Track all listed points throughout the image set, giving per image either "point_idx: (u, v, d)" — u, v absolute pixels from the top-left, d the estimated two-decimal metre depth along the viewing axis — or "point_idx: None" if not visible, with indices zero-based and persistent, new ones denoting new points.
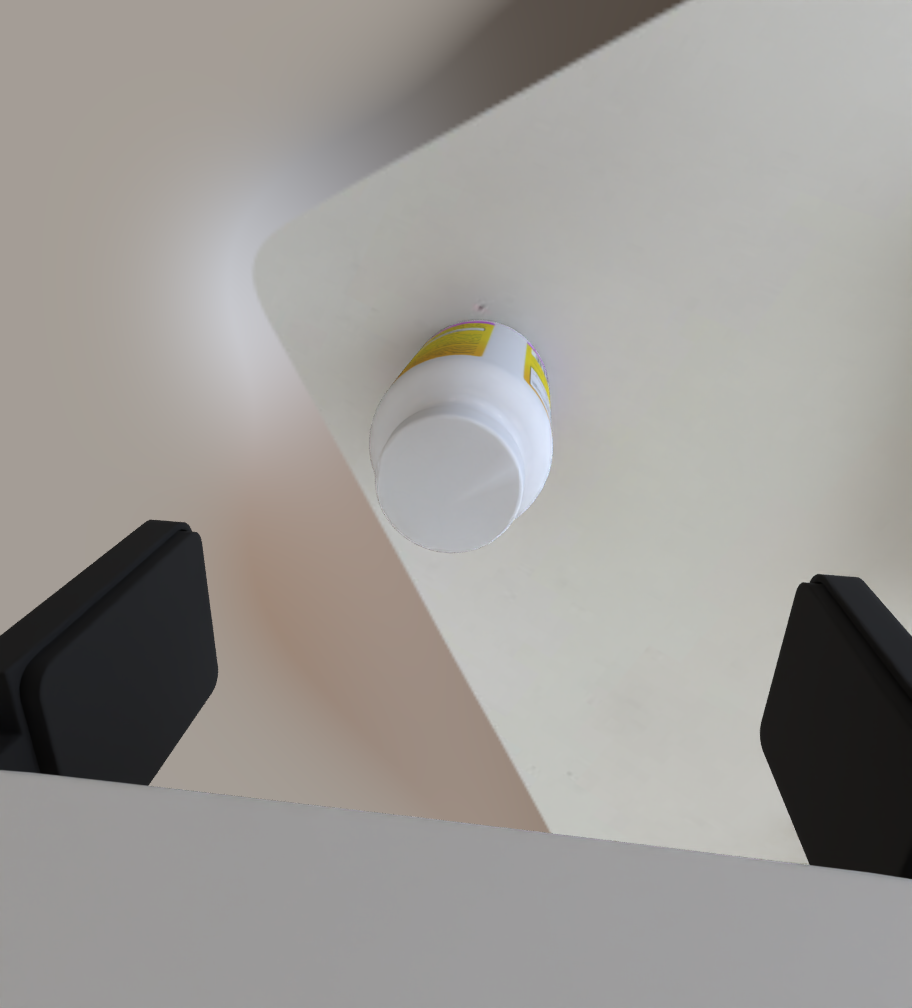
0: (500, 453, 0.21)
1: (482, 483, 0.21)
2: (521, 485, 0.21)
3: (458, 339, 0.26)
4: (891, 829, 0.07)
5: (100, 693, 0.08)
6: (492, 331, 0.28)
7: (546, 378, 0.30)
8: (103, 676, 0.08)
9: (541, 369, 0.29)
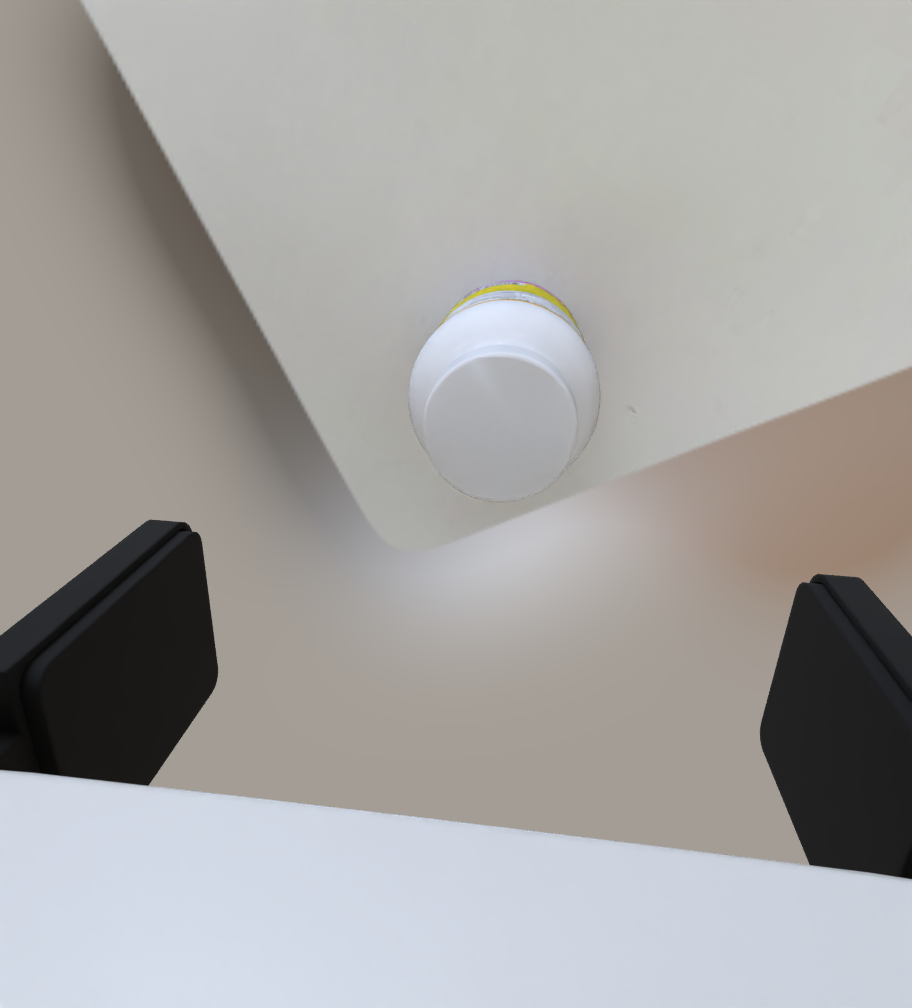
0: (459, 376, 0.20)
1: (494, 395, 0.20)
2: (496, 353, 0.19)
3: None
4: (892, 829, 0.07)
5: (100, 693, 0.08)
6: None
7: (484, 287, 0.29)
8: (103, 676, 0.08)
9: (469, 295, 0.28)
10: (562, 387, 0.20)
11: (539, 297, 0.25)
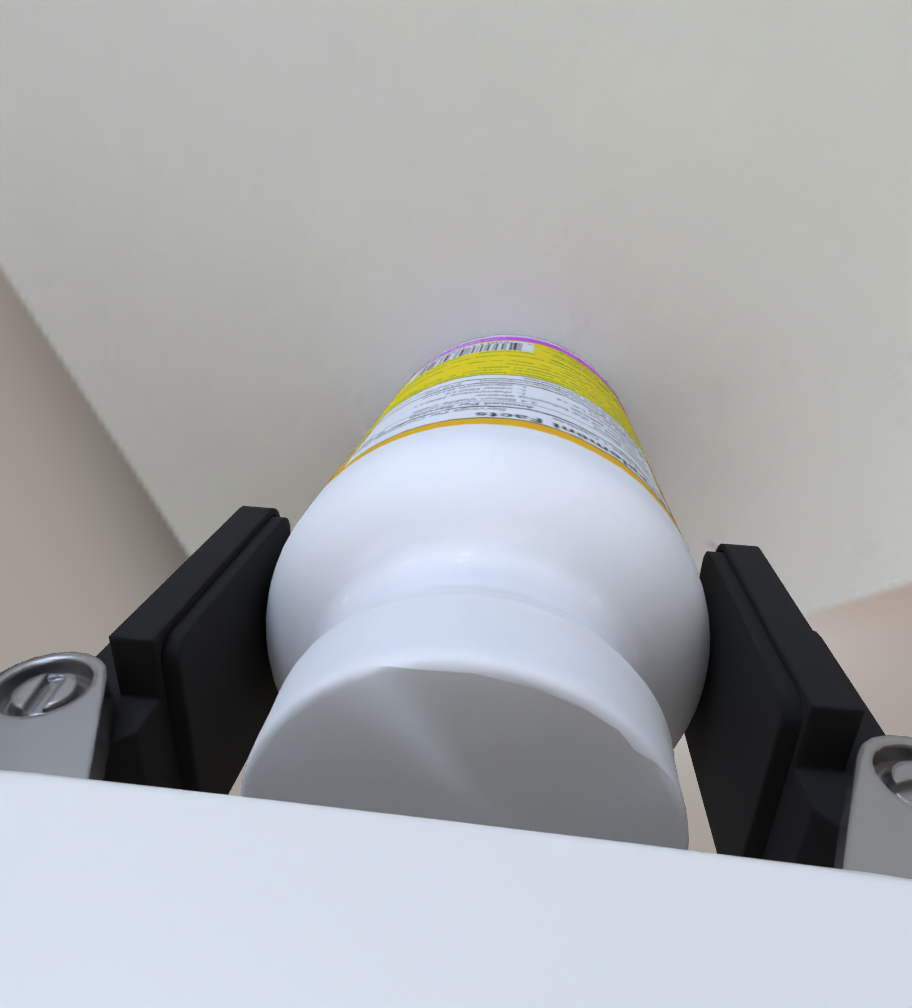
0: (331, 714, 0.06)
1: (438, 765, 0.07)
2: (439, 660, 0.06)
3: None
4: (754, 762, 0.08)
5: (219, 665, 0.09)
6: None
7: (458, 353, 0.15)
8: (221, 649, 0.09)
9: (429, 371, 0.15)
10: (647, 757, 0.06)
11: (563, 391, 0.12)
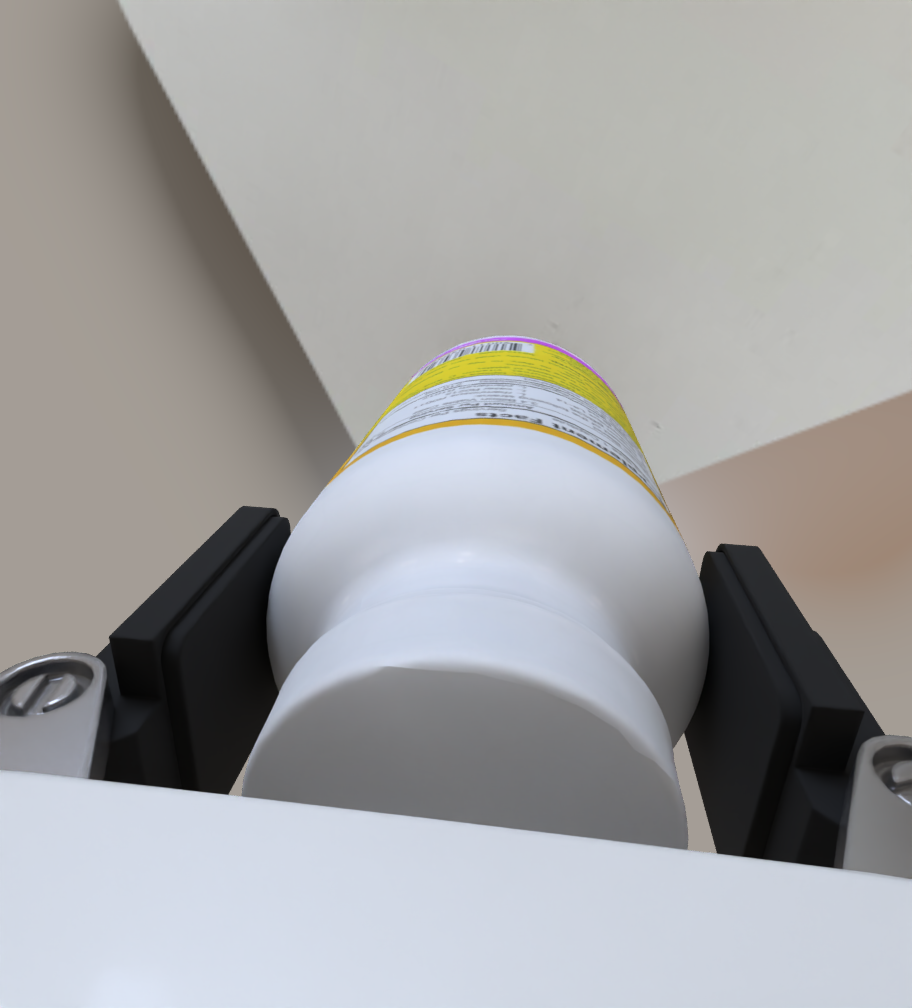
0: (332, 713, 0.07)
1: (438, 764, 0.07)
2: (440, 660, 0.06)
3: None
4: (754, 762, 0.08)
5: (219, 665, 0.09)
6: None
7: (458, 354, 0.15)
8: (221, 649, 0.09)
9: (429, 371, 0.15)
10: (646, 757, 0.06)
11: (563, 392, 0.12)
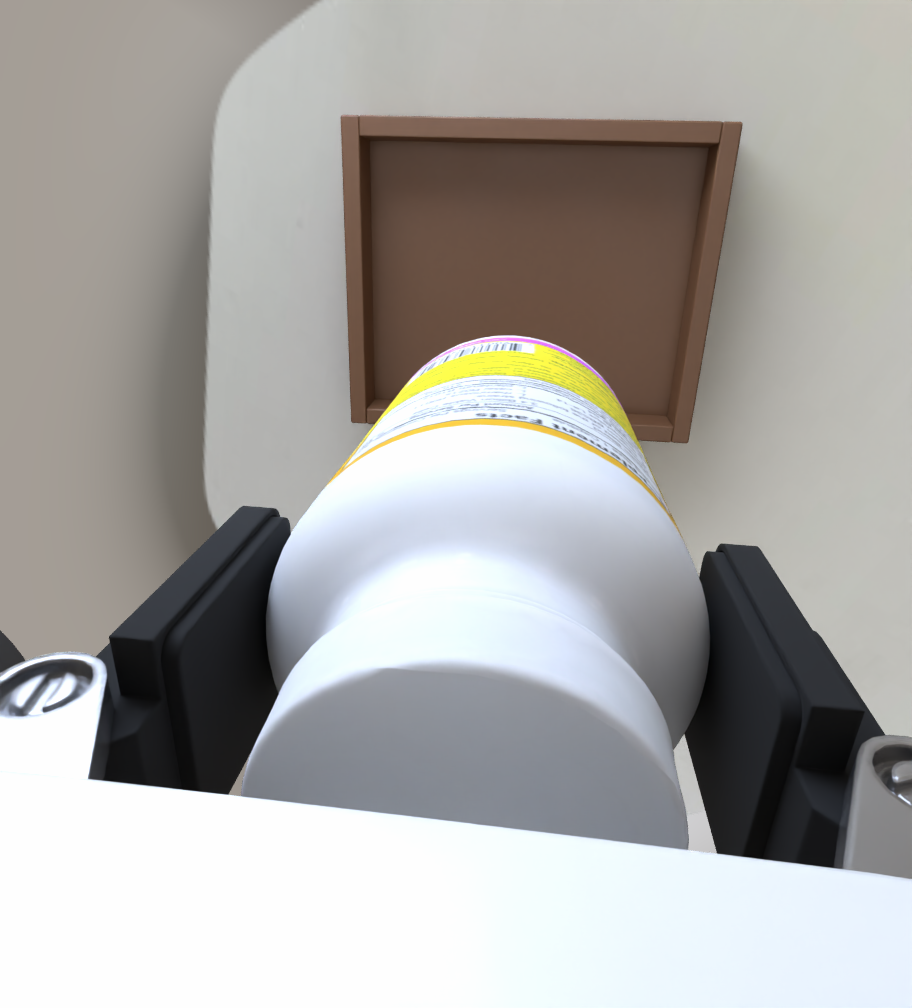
0: (331, 715, 0.06)
1: (438, 766, 0.07)
2: (439, 661, 0.06)
3: None
4: (754, 763, 0.08)
5: (219, 665, 0.09)
6: None
7: (458, 354, 0.15)
8: (221, 649, 0.09)
9: (429, 371, 0.15)
10: (647, 759, 0.06)
11: (563, 392, 0.12)
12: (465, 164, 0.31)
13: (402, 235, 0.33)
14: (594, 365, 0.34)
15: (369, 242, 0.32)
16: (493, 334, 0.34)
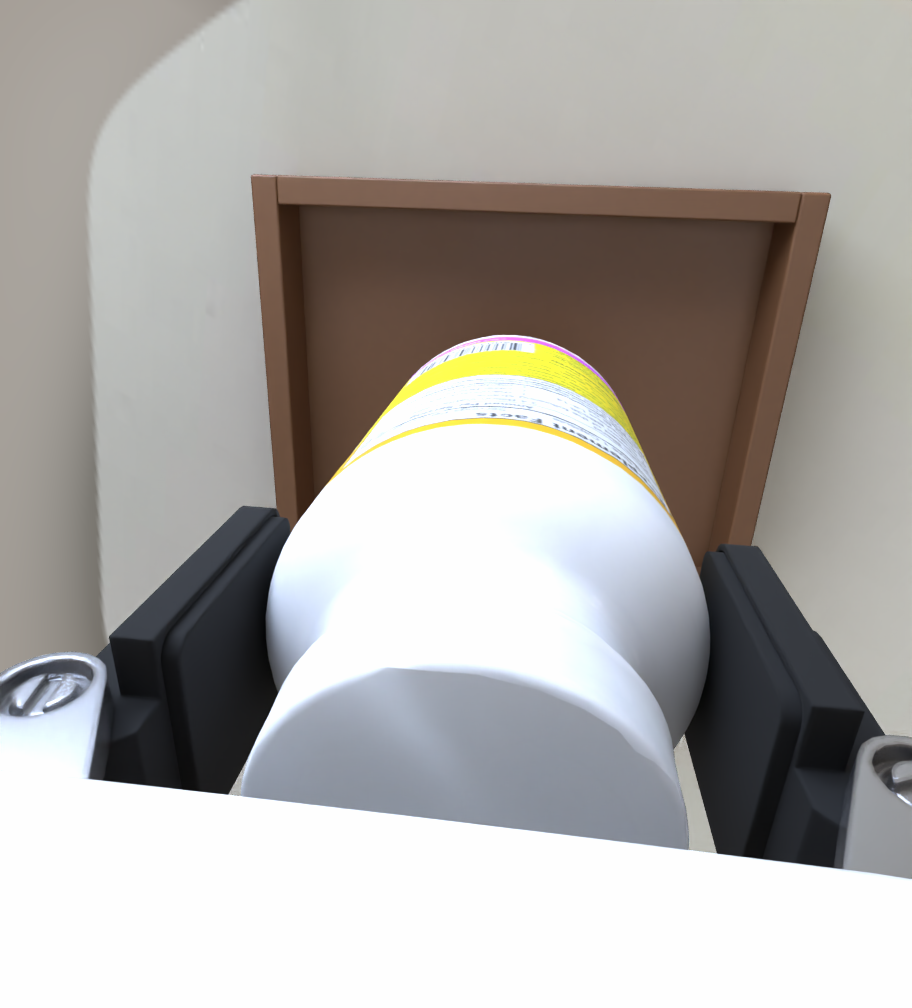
0: (331, 714, 0.06)
1: (437, 766, 0.07)
2: (439, 660, 0.06)
3: None
4: (754, 763, 0.08)
5: (219, 665, 0.09)
6: None
7: (458, 353, 0.15)
8: (221, 649, 0.09)
9: (429, 371, 0.15)
10: (647, 758, 0.06)
11: (563, 392, 0.12)
12: (431, 238, 0.22)
13: (347, 331, 0.24)
14: None
15: (301, 341, 0.23)
16: None
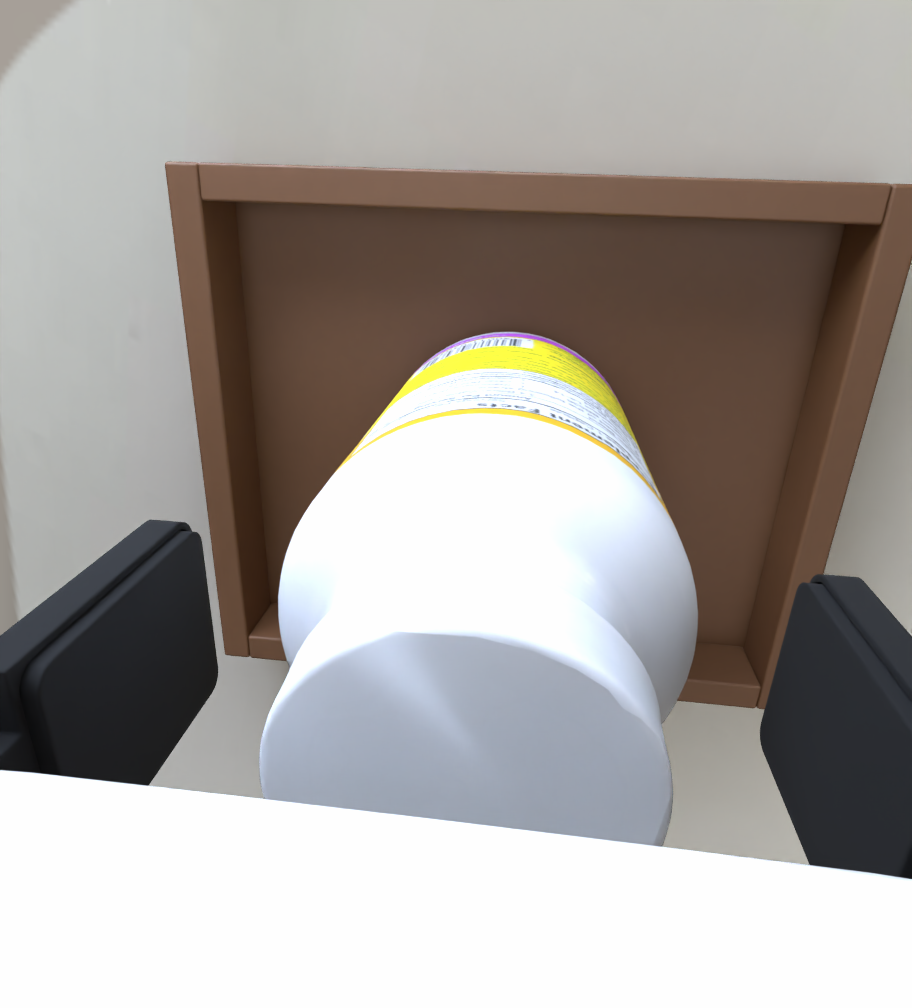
0: (344, 676, 0.07)
1: (441, 723, 0.07)
2: (444, 624, 0.07)
3: None
4: (891, 829, 0.07)
5: (100, 693, 0.08)
6: None
7: (460, 349, 0.16)
8: (103, 676, 0.08)
9: (431, 366, 0.15)
10: (633, 715, 0.07)
11: (560, 385, 0.13)
12: (404, 244, 0.18)
13: (301, 359, 0.19)
14: None
15: (242, 373, 0.19)
16: None
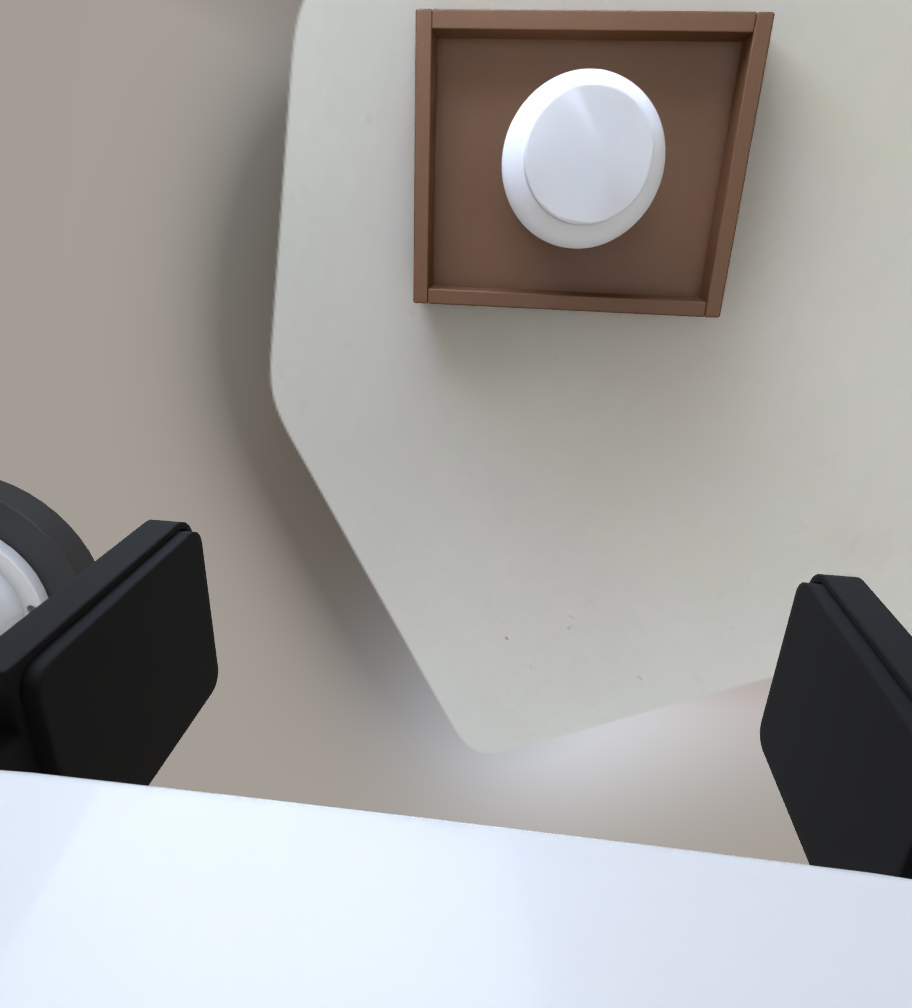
0: (558, 104, 0.24)
1: (585, 121, 0.24)
2: (589, 82, 0.24)
3: None
4: (891, 829, 0.07)
5: (100, 693, 0.08)
6: None
7: None
8: (103, 676, 0.08)
9: None
10: (642, 112, 0.24)
11: None
12: (523, 59, 0.35)
13: (464, 127, 0.36)
14: (634, 250, 0.38)
15: (434, 133, 0.36)
16: None
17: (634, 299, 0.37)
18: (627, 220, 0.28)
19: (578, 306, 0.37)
